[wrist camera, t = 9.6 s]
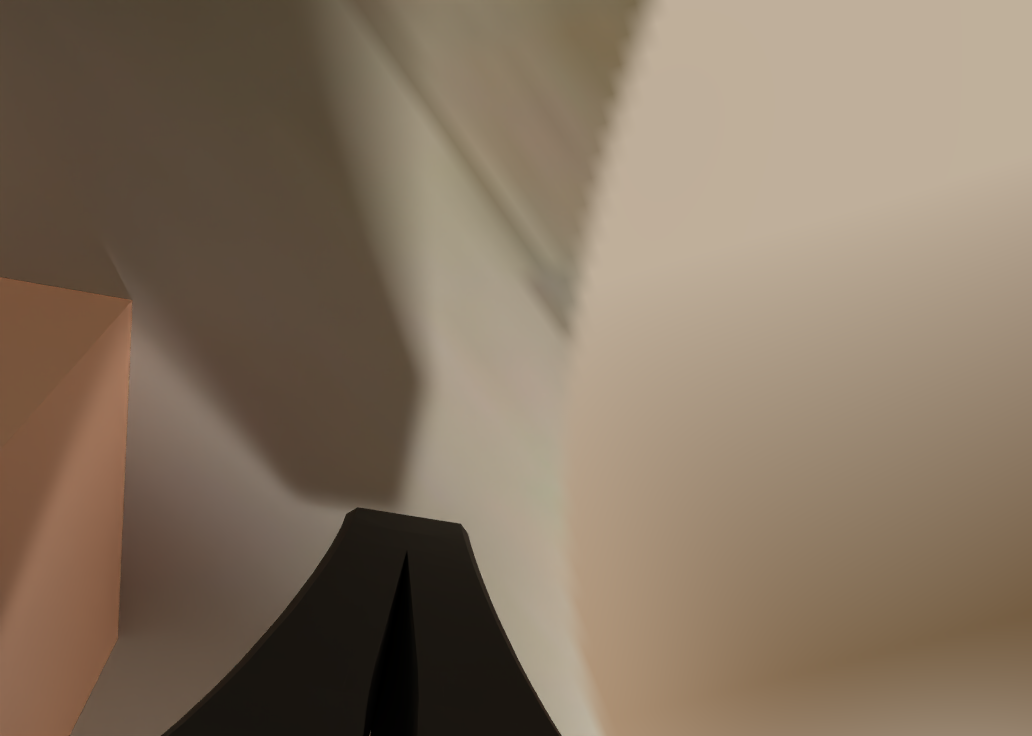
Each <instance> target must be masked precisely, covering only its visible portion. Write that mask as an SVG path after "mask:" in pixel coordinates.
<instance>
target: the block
mask: <svg viewBox="0 0 1032 736" xmlns="http://www.w3.org/2000/svg"><path fill="white" fill-rule="evenodd" d="M131 323H132V300H129V299H123V298H117V297H111V296H106V295H100V294H94V293H88V292H83V291H77V290H71V289H65V288H60V287H54V286H48V285H42V284H36V283H31V282H25V281H19V280H13V279H8V278H2V277H0V736H70V734H71V732H72V730H73V728H74V726H75V724H76V722H77V720H78V718H79V716H80V714H81V712H82V710H83V708H84V706H85V704H86V702H87V700H88V698H89V696H90V694H91V692H92V690H93V688H94V686H95V684H96V682H97V680H98V678H99V676H100V674H101V672H102V670H103V668H104V666H105V664H106V662H107V659H108V657H109V655H110V653H111V651H112V649H113V647H114V645H115V643H116V641H117V639H118V623H119V600H120V576H121V553H122V530H123V507H124V484H125V461H126V438H127V415H128V392H129V369H130V346H131Z"/></svg>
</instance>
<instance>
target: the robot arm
mask: <svg viewBox="0 0 1032 736" xmlns="http://www.w3.org/2000/svg"><path fill="white" fill-rule="evenodd" d="M370 730H371V733H370ZM369 734H370V736H561V734H560V733H559V731H558V729H557V728H556V726H555V724H554V723H553V721H552V720H551V718H550V716H549V715H548V713H547V711H546V710H545V708H544V706H543V704H542V702H541V701H540V699H539V697H538V695H537V693H536V692H535V690H534V688H533V686H532V685H531V683H530V681H529V679H528V677H527V675H526V674H525V672H524V670H523V668H522V666H521V664H520V662H519V660H518V658H517V656H516V654H515V652H514V650H513V648H512V646H511V643H510V641H509V639H508V637H507V635H506V633H505V631H504V629H503V627H502V624H501V622H500V620H499V618H498V616H497V614H496V611H495V609H494V607H493V604H492V602H491V600H490V597H489V594H488V592H487V589H486V587H485V584H484V582H483V579H482V577H481V574H480V571H479V568H478V566H477V563H476V560H475V557H474V554H473V550H472V547H471V544H470V540H469V536H468V533H467V532H466V530H465V529H464V528H463V526H462V525H461V524H458V523H452V522H446V521H439V520H433V519H427V518H420V517H414V516H408V515H402V514H395V513H389V512H383V511H376V510H370V509H364V508H356V509H354V510H352V511H351V512H349V513H347V514H346V516H345V519H344V521H343V524H342V526H341V528H340V530H339V532H338V534H337V536H336V538H335V540H334V541H333V543H332V545H331V546H330V548H329V550H328V551H327V553H326V554H325V556H324V557H323V559H322V560H321V562H320V563H319V565H318V566H317V568H316V569H315V571H314V572H313V574H312V575H311V576H310V578H309V579H308V580H307V582H306V583H305V584H304V586H303V587H302V588H301V590H300V591H299V592H298V594H297V595H296V596H295V597H294V599H293V600H292V601H291V603H290V604H289V605H288V607H287V608H286V609H285V611H284V612H283V613H282V614H281V615H280V617H279V618H278V619H277V620H276V621H275V623H274V624H273V625H272V626H271V627H270V628H269V629H268V630H267V632H266V633H265V634H264V635H263V636H262V637H261V638H260V639H259V641H258V642H257V643H256V644H255V645H254V646H253V647H252V648H251V650H250V651H249V652H248V653H247V654H246V655H245V656H244V657H243V659H242V660H241V661H240V662H239V663H238V664H237V665H236V666H235V667H234V668H233V669H232V670H231V671H230V672H229V673H228V674H227V675H226V676H225V677H224V678H223V679H222V680H221V681H220V682H219V683H218V684H217V685H216V686H215V687H214V688H213V689H212V690H211V691H210V692H209V693H208V694H207V695H206V696H205V697H204V698H203V699H202V700H201V701H200V702H198V703H197V704H196V705H195V706H194V707H193V708H192V709H191V710H190V711H189V712H188V713H187V714H186V715H184V716H183V717H182V718H181V719H180V720H179V721H178V722H177V723H176V724H174V725H173V726H172V727H171V728H170V729H168V730H167V731H166V732H165V733H164V734H163V735H161V736H369Z"/></svg>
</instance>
